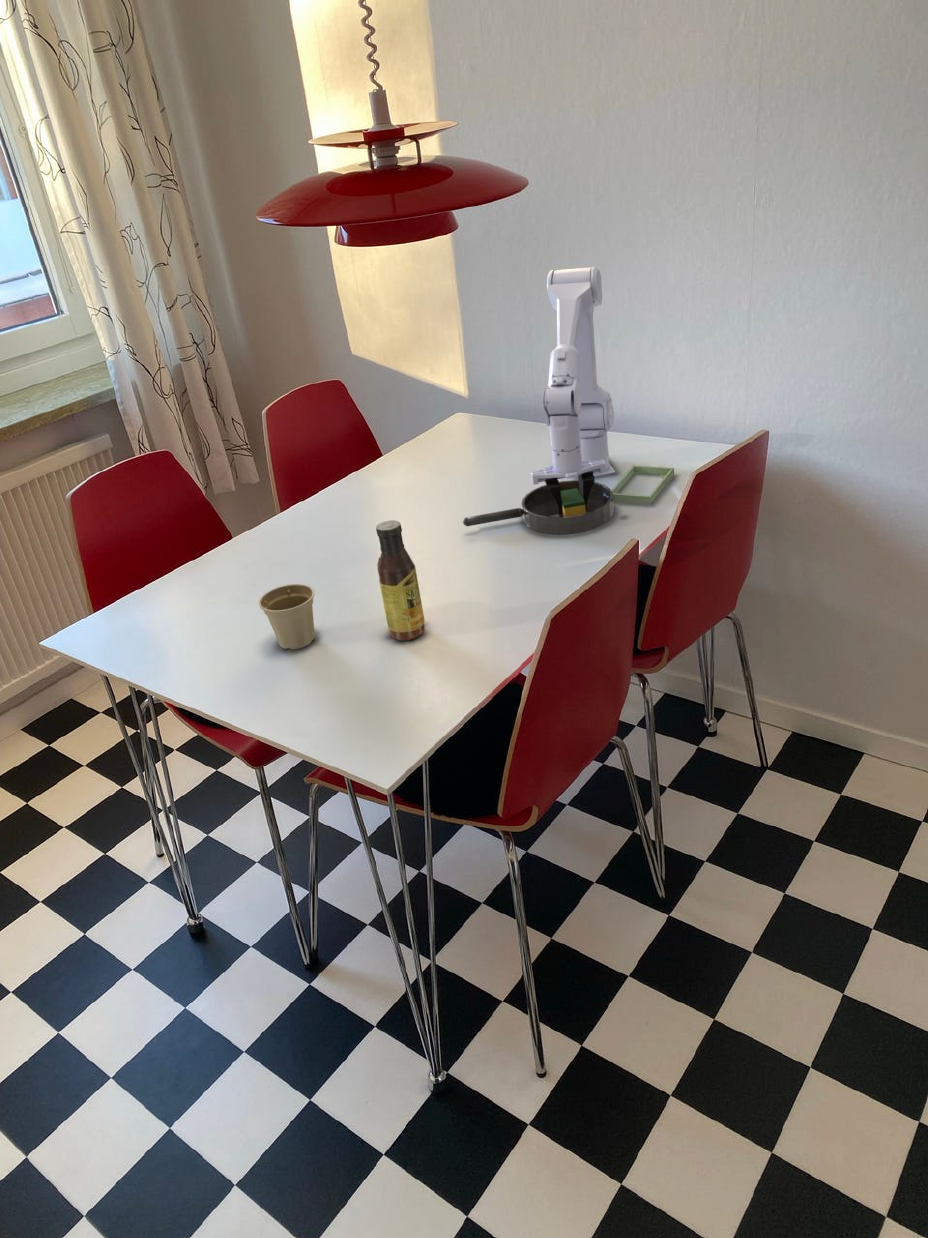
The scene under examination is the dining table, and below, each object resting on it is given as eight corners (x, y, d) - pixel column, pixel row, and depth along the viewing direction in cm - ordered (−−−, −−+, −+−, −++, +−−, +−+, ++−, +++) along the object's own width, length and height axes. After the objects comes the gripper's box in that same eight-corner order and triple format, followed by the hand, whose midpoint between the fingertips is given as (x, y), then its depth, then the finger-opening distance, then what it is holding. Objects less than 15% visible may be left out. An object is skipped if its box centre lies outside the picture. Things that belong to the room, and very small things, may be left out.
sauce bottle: (421, 642, 163) (401, 534, 153) (385, 642, 164) (363, 535, 154) (430, 621, 168) (411, 516, 158) (395, 622, 170) (374, 517, 160)
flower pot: (299, 621, 175) (288, 578, 170) (336, 634, 169) (325, 590, 165) (259, 646, 169) (247, 603, 165) (295, 660, 163) (283, 616, 159)
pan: (517, 507, 204) (514, 489, 202) (601, 492, 205) (600, 474, 203) (532, 543, 189) (530, 524, 187) (624, 526, 189) (623, 507, 187)
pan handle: (523, 514, 196) (522, 505, 195) (524, 517, 195) (523, 509, 194) (463, 524, 196) (461, 516, 195) (464, 528, 194) (463, 520, 193)
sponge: (558, 508, 200) (556, 491, 198) (578, 505, 200) (577, 487, 198) (565, 522, 194) (563, 504, 192) (586, 518, 194) (584, 501, 192)
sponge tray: (633, 473, 211) (633, 465, 210) (674, 476, 207) (674, 467, 206) (608, 502, 200) (607, 493, 199) (651, 505, 196) (650, 497, 195)
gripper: (532, 459, 186) (539, 524, 192) (607, 446, 186) (612, 511, 193) (526, 447, 192) (533, 510, 199) (599, 434, 192) (603, 498, 199)
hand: (571, 510), depth 196 cm, fingers closed on sponge, 4 cm apart
